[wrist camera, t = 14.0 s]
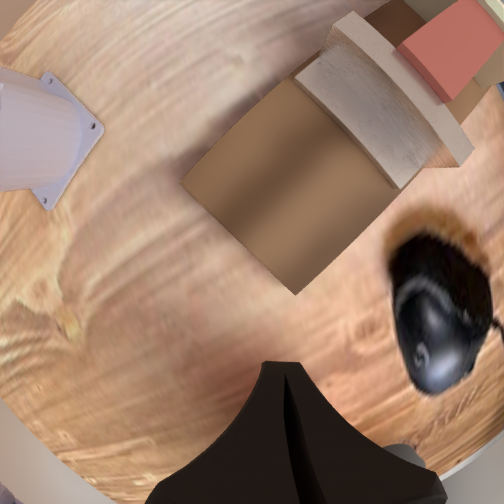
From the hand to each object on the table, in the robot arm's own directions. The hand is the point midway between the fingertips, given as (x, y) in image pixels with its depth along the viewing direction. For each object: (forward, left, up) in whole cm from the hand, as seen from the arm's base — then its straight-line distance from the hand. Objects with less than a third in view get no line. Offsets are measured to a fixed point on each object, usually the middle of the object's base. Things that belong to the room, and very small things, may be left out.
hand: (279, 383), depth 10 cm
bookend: (-4, +13, -9) cm, 16 cm away
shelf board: (-4, +15, -10) cm, 18 cm away
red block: (-4, +18, -9) cm, 21 cm away
